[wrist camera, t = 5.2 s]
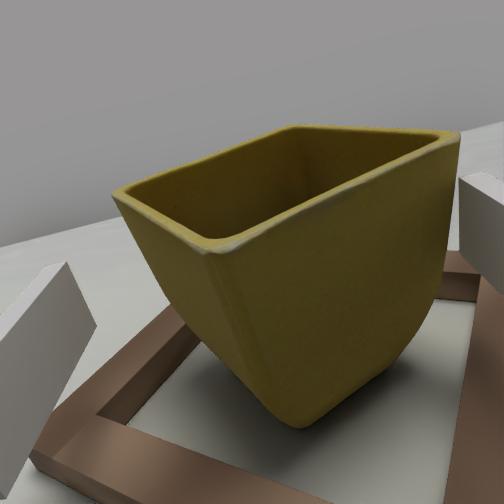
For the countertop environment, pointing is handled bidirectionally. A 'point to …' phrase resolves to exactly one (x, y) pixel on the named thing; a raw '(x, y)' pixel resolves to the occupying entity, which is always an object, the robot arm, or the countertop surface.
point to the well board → (232, 478)
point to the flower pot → (302, 253)
